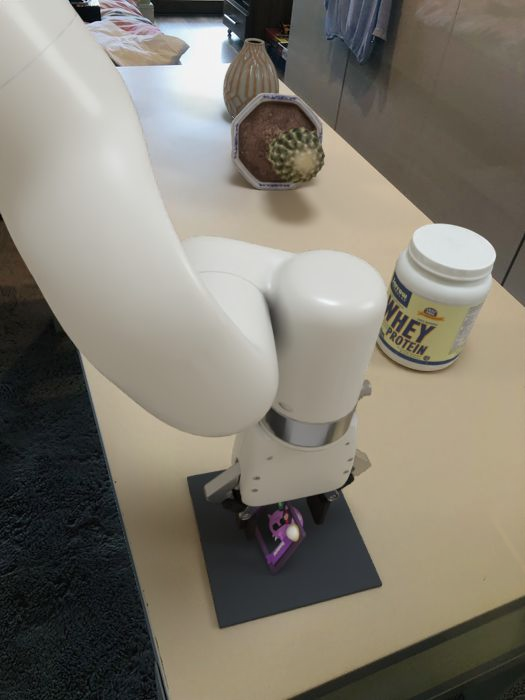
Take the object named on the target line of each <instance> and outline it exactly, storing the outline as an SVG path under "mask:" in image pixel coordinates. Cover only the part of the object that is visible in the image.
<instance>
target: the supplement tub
mask: <svg viewBox="0 0 525 700" xmlns="http://www.w3.org/2000/svg"><path fill="white" fill-rule="evenodd" d="M496 257H497V252H496V250H495V247H494V246H493V245H492V244H491V243H490V242H489V240H488V239H486V238H485V237H484V236H482V235H481V234H479V233H477V232H475V231H473V230H471V229H468V228H465V227H462V226H459V225H456V224H455V225H454V224H451V223H449V224H448V223H429V224H424V225H422V226H420V227H418V228H417V229H416V230H414V232H413V234H412V237H411V239H410V240H409V243H408V245H407V247H405V248H404V249H403V250H402V251H401V252H400V253H399V255H398V257H397V259H396V261H395V265H394V269H393V271H392V275H391V278H390V282H389V285H388V288H387V296H388V301H387V307H386V311H385V316H384V319H383V322H382V325H381V328H380V332H379V335H378V338H377V341H376V343H377V344H378V346H379V348H380V349H381V350H382V352H383V353H384V354H385V355H386V356H387V357H389V358H390V359H391V360H392V361H394V362H395V363H398V364H400V365H401V366H404V367H406V368H409V369H412V370H416V371H422V372H423V371H424V372H431V371H440V370H442V369H445V368H448V367H449V366H451V365H452V364H453V363H455V362H456V360H457V359H458V358H459V357H460V355H461V354H462V351H463V348H464V347H465V344H466V342H467V340H468V338H469V336H470V333H471V331H472V329H473V328H474V326H475V323H476V321H477V319H478V317H479V315H480V312H481V310H482V308H483V306H484V304H485V302H486V300H487V298H488V295H489V294H490V292H491V289H492V285H493V276H492V271H493V269H494V263H495V262H496V259H497V258H496Z"/></svg>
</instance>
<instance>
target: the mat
mask: <svg viewBox="0 0 525 700" xmlns="http://www.w3.org/2000/svg"><path fill="white" fill-rule="evenodd" d="M227 469H228V468H226V469H220V470H215V471H210V472H204V473H199V474H194V475H188V476H187V477H186V481H187V485H188V486H187V487H188V489H189V495H190V498H191V499H190V500H191V503H192V508H193V513H194V517H195V523H196V527H197V531H198V536H199V541H200V545H201V549H202V553H203V559H204V563H205V566H206V572H207V577H208V581H209V585H210V590H211V591H210V592H211V596H212V600H213V604H214V608H215V613H216V619H217V622H218V627H219V630H222V629H225V628H230V627H233V626H236V625H237V626H238V625H241V624H245V623H248V622H251V621H255V620H256V621H257V620H259V619H263V618H267V617H271V616H275V615H278V614H279V615H280V614H282V613H285V612H289V611H293V610H297V609H301V608H305V607H308V606H312V605H316V604H319V603H323V602H327V601H331V600H335V599H339V598H342V597H346V596H349V595H355V594H357V593H361V592H365V591H368V590H372V589H373V590H374V589H376V588H380V587H382V586H383V581H382V580H381V578H380V575H379V573H378V571H377V570H378V569H377V568H376V566H375V564H374V561H373V559H372V557H371V555H370V553H369V550H368V548H367V545H366V543H365V540H364V538H363V536H362V533H361V532H360V530H359V527H358V525H357V523H356V520H355V518H354V516H353V514H352V511H351V509H350V506H349V504H348V502H347V500H346V498H345V495H344V493H343V491H342V490H343V489H342V490H340V491H339V492H338V494H339V497H338V498H337V499H336V500H334V501H331V503H330V506H329V509H328V511H327V513H326V516H325V519H324V522H323V524H320V525H317V524H315V522H314V520H313V517H312V515H311V512H310V509H309V507H308V504H307V501H306V497H303V498H298V499H293V500H290V502H291V504H292V506H293V507H294V508H296V509H297V510H298V511H299V512H300V513H301V515H302V519H303V526H302V527H303V529H304V531H305V533H306V536H305V538H304V539H303V540H302V542H301V543H300V544H299V546H298V547H297V548H296V549H295V551H294V552H293V553H292V555H291V556H290V557H289V559H288V560H287V561H286V563H285V564H284V565H283V566H282V568H281V569H280V570H279V572H278V573H277V574H274V575H272V573H271V571H270V569H269V566H268V564H267V561H266V559H265V557H264V554H263V552H262V549H261V547H260V545H259V542H258V540H257V538H256V535H255V537H254V538H253V540H249V541H247V539H246V535H245V532H244V529H241V530H238V527H237V524H236V519H235V513H234V512H231V511H228V510H226V509H223V506H222V505H221V504H219V505H217V504H215V503H212V502H210V501H207V499H206V495H205V491H204V486H205V485H206V484H207V483H208V482H210V481H211V480H213V479H214V478H216V477H217V476H218V475H220V474H221V473H223V472H224V471H225V470H227ZM236 487H237V486H236ZM236 487H235V488H236ZM235 488H234V489H235ZM276 504H277V503H273V504H268V505H266V506H265V508H264V509H263V511H262V512H261V514H260V515H259V517H258V518H257V526H258V529H259V531H260V533H261V536H262V538H263V540H264V543H265V545H266V548H267V550H268V552H269V554H272V552H273V551H274V550H275V549H276V547H277V546H278V545H279V544H280V543H281V539H280V538H277V539H276V541H275V536H274V537H273V533H272V532H271V530H270V527H269V522H270V519H269V517H268V514H269V515H273V513H274V512H275V511H277V510H279V509H278V507H277V505H276ZM294 542H295V541H293V542H292V543H291V544H290V546H289V547H288V548H287V549H286V551H285V552H284V553H283V554H282V555H281V557H280V558H279V559H278V560H277V561H276V563H275V564H274V566H275V567H276V566H277V564H278V563H279V562H280V561H281V559H282V558H283V557H284V555H285V554H286V553H287V551H288V550H289V549H290V547H291V546H292V545H293V543H294Z"/></svg>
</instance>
